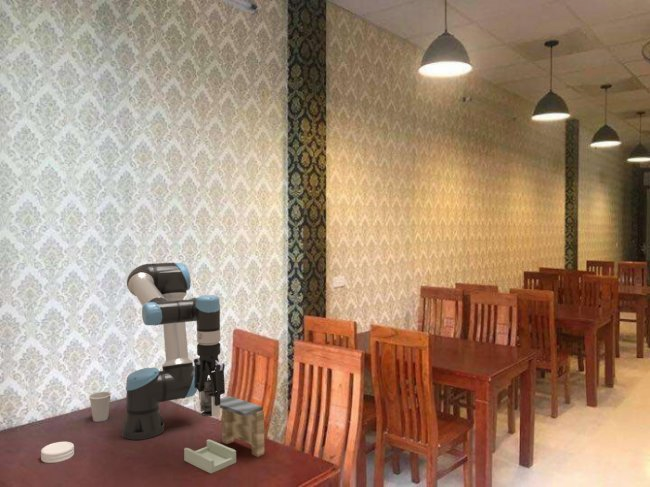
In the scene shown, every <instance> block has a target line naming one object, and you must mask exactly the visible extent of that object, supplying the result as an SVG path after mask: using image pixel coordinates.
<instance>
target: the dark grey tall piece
mask: <svg viewBox="0 0 650 487" xmlns="http://www.w3.org/2000/svg"><path fill="white" fill-rule="evenodd" d="M211 395H213V391H212V386H211V381H210V377H208V379H207V381H205V391H204V396H205V398H204V401H203V402H201V403H200V402H199V406H200V405H201V408H202V409H203V410H204V411H202V412H200V413H201V416H202V417H206V418H207V417H213V416H212V398H211Z"/></svg>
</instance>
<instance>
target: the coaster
mask: <svg viewBox="0 0 650 487" xmlns="http://www.w3.org/2000/svg"><path fill="white" fill-rule="evenodd" d="M40 453H41V454H40V459H41V461H42V462H43V463H45V464H55V463H57V464H58V463H61V462H64V461H67V460H69V459H71V458H73V457H74V454H75V445H74V443H72V442H70V441H57V442H52V443H50V444H47V445H45V446H44V447H42V448H41V450H40Z"/></svg>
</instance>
